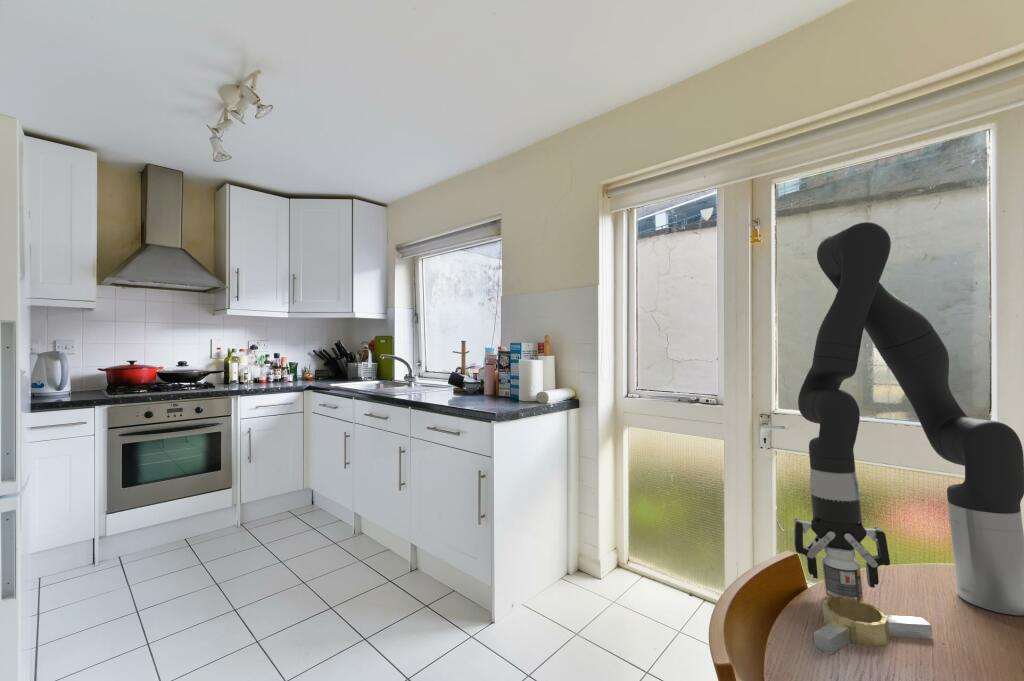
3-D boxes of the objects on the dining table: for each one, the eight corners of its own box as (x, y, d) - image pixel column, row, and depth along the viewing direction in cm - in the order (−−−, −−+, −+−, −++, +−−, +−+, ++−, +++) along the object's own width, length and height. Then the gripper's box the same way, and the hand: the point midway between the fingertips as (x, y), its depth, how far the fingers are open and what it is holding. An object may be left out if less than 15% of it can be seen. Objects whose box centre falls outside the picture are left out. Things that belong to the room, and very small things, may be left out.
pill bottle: (870, 610, 78) (865, 553, 79) (835, 608, 79) (830, 552, 80) (852, 594, 84) (848, 541, 84) (819, 592, 85) (815, 540, 85)
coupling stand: (882, 609, 78) (881, 591, 78) (936, 638, 70) (934, 617, 70) (782, 623, 75) (781, 604, 76) (826, 655, 67) (824, 633, 67)
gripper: (877, 491, 83) (885, 579, 82) (788, 485, 90) (795, 566, 88) (888, 503, 76) (897, 598, 75) (792, 494, 83) (799, 582, 82)
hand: (842, 581), depth 82 cm, fingers open, 8 cm apart
